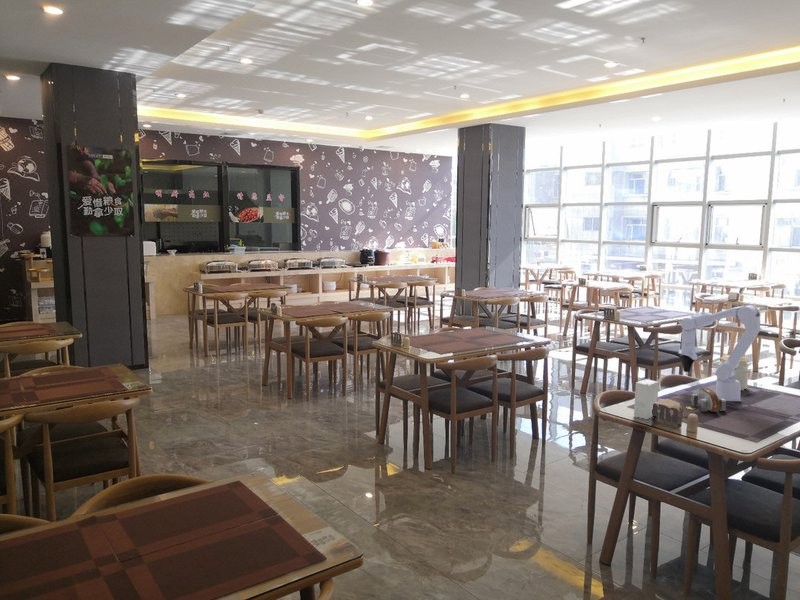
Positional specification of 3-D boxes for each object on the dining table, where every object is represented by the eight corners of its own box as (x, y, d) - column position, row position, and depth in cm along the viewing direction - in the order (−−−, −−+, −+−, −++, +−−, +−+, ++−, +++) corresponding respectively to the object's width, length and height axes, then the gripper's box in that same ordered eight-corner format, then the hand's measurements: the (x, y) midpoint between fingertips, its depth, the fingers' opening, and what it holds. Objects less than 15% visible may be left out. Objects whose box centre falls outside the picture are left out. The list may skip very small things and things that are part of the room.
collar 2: (722, 410, 264) (723, 398, 263) (725, 411, 262) (726, 400, 261) (700, 410, 264) (701, 398, 263) (702, 411, 262) (703, 400, 261)
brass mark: (693, 407, 269) (693, 406, 269) (697, 409, 265) (697, 408, 265) (683, 407, 269) (683, 406, 269) (688, 409, 265) (688, 408, 265)
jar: (724, 382, 311) (727, 348, 309) (752, 388, 301) (754, 352, 298) (712, 387, 303) (714, 351, 301) (740, 392, 293) (742, 355, 290)
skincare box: (643, 413, 260) (645, 378, 258) (657, 416, 255) (659, 381, 253) (632, 417, 255) (634, 381, 253) (646, 420, 250) (648, 384, 248)
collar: (712, 405, 272) (713, 393, 271) (715, 406, 270) (715, 394, 269) (691, 405, 272) (691, 393, 271) (693, 406, 270) (694, 395, 269)
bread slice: (719, 414, 259) (720, 394, 258) (711, 414, 259) (712, 394, 258) (704, 404, 273) (705, 385, 272) (697, 404, 274) (698, 385, 273)
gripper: (672, 340, 297) (671, 368, 299) (687, 346, 283) (685, 375, 284) (687, 340, 297) (685, 368, 299) (702, 346, 283) (700, 375, 284)
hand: (686, 371), depth 292 cm, fingers closed
